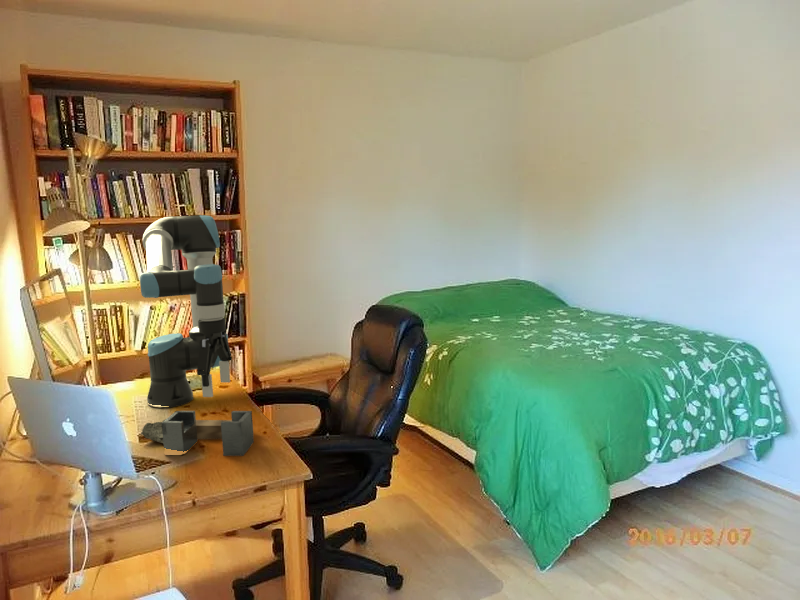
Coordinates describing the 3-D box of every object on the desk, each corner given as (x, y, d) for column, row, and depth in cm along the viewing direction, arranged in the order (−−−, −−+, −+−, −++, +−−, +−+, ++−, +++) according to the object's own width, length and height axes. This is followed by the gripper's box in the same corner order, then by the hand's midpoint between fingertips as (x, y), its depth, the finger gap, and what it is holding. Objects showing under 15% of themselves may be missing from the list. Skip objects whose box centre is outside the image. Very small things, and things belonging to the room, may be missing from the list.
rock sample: (161, 437, 172) (153, 411, 176) (143, 452, 174) (136, 427, 178) (189, 440, 180) (181, 416, 185) (172, 455, 182) (165, 430, 187)
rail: (189, 439, 180) (188, 425, 179) (195, 434, 184) (194, 419, 184) (248, 440, 179) (247, 425, 178) (253, 434, 183) (252, 420, 182)
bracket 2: (235, 442, 177) (232, 410, 175) (253, 442, 176) (251, 411, 175) (223, 455, 168) (220, 423, 166) (243, 455, 167) (240, 423, 166)
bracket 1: (179, 441, 178) (176, 410, 177) (197, 441, 178) (195, 410, 176) (164, 455, 169) (161, 422, 167) (184, 455, 169) (181, 422, 167)
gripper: (215, 310, 188) (220, 376, 191) (180, 327, 163) (186, 403, 167) (238, 310, 187) (243, 376, 191) (207, 327, 163) (213, 403, 166)
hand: (217, 389), depth 179 cm, fingers open, 13 cm apart
